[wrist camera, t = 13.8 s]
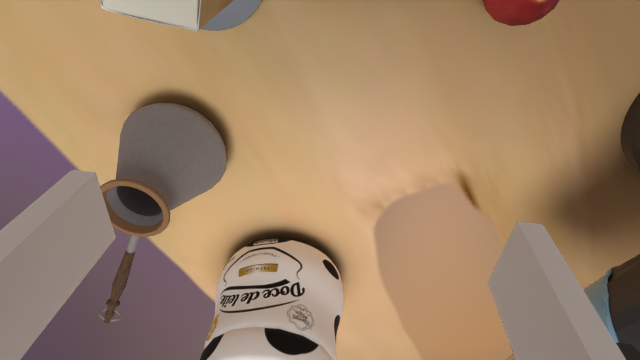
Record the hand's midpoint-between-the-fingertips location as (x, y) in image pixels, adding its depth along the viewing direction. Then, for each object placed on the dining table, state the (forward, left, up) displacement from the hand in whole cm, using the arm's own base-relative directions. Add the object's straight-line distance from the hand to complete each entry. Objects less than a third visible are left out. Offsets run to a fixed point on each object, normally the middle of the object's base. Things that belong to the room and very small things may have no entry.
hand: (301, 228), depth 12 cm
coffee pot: (+17, +19, -29) cm, 38 cm away
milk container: (+3, +35, -29) cm, 45 cm away
